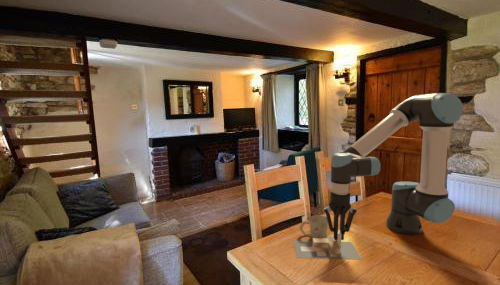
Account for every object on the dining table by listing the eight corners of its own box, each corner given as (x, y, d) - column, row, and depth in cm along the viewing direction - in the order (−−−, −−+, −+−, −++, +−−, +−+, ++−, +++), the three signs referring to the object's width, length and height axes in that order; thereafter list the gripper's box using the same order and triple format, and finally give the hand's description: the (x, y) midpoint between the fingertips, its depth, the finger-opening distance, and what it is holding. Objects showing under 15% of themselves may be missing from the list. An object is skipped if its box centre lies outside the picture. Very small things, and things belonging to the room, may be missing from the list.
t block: (333, 243, 111) (333, 234, 111) (339, 256, 101) (340, 247, 101) (311, 242, 112) (311, 234, 111) (315, 256, 102) (315, 246, 101)
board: (351, 245, 112) (351, 241, 112) (361, 263, 99) (361, 259, 99) (293, 243, 114) (293, 240, 114) (296, 261, 101) (296, 257, 101)
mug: (328, 245, 112) (329, 224, 111) (299, 243, 115) (299, 221, 113) (326, 236, 120) (327, 215, 119) (299, 234, 123) (299, 214, 121)
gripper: (353, 188, 106) (351, 242, 109) (321, 188, 107) (320, 241, 110) (360, 195, 98) (357, 252, 102) (325, 194, 99) (324, 251, 103)
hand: (338, 246), depth 106 cm, fingers closed
